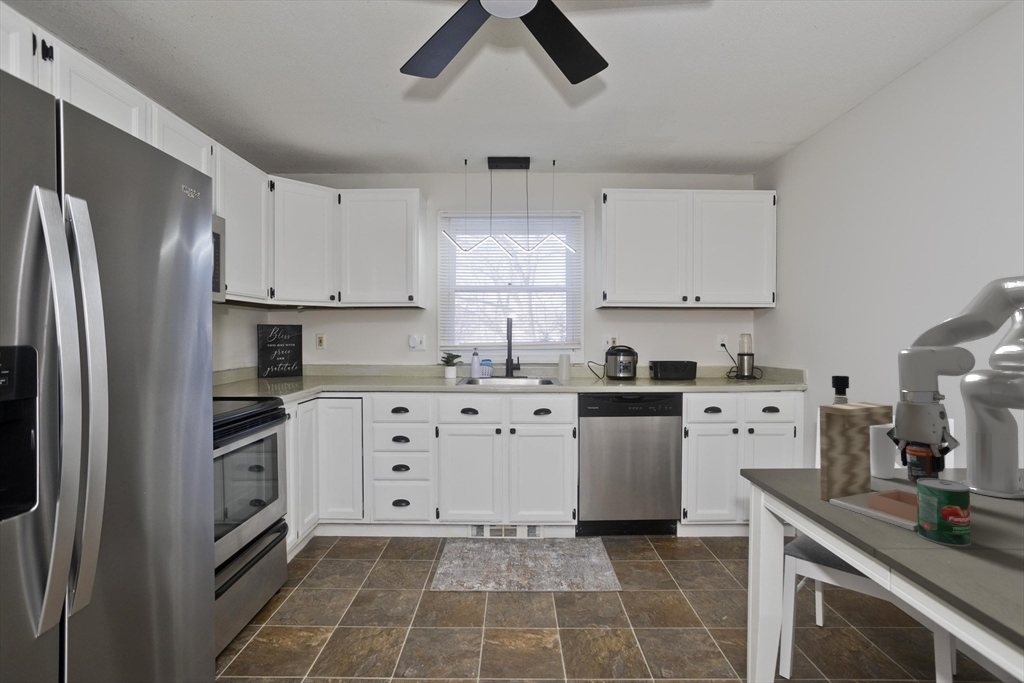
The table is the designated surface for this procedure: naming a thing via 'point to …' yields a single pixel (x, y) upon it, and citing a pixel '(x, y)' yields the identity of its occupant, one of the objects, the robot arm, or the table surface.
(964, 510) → the canned tomato
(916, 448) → the supplement bottle
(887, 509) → the socket
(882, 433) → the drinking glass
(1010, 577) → the table surface
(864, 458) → the wood grain block
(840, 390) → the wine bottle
